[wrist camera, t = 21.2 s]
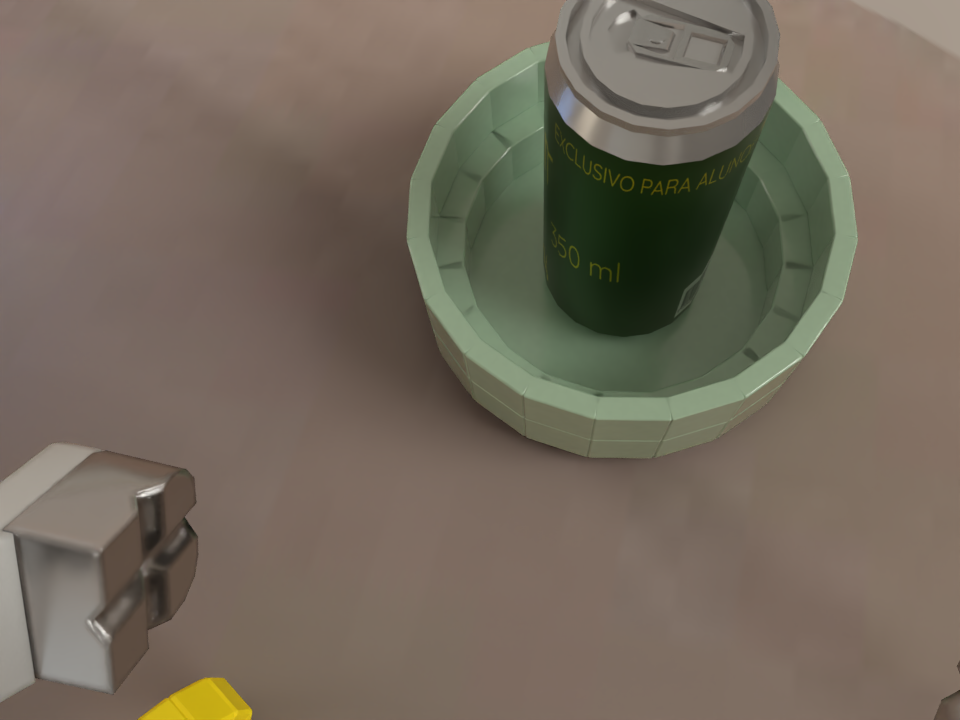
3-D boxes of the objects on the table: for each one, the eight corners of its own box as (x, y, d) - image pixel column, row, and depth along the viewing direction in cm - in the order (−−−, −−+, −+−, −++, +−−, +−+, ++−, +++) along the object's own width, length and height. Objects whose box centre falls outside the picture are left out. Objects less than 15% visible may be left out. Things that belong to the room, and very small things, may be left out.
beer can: (717, 230, 31) (816, -29, 20) (673, 365, 29) (755, 168, 18) (571, 188, 32) (588, -81, 21) (521, 317, 30) (510, 101, 19)
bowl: (351, 316, 31) (318, 251, 27) (571, 63, 35) (576, -34, 30) (667, 545, 28) (693, 517, 23) (880, 241, 31) (940, 162, 26)
